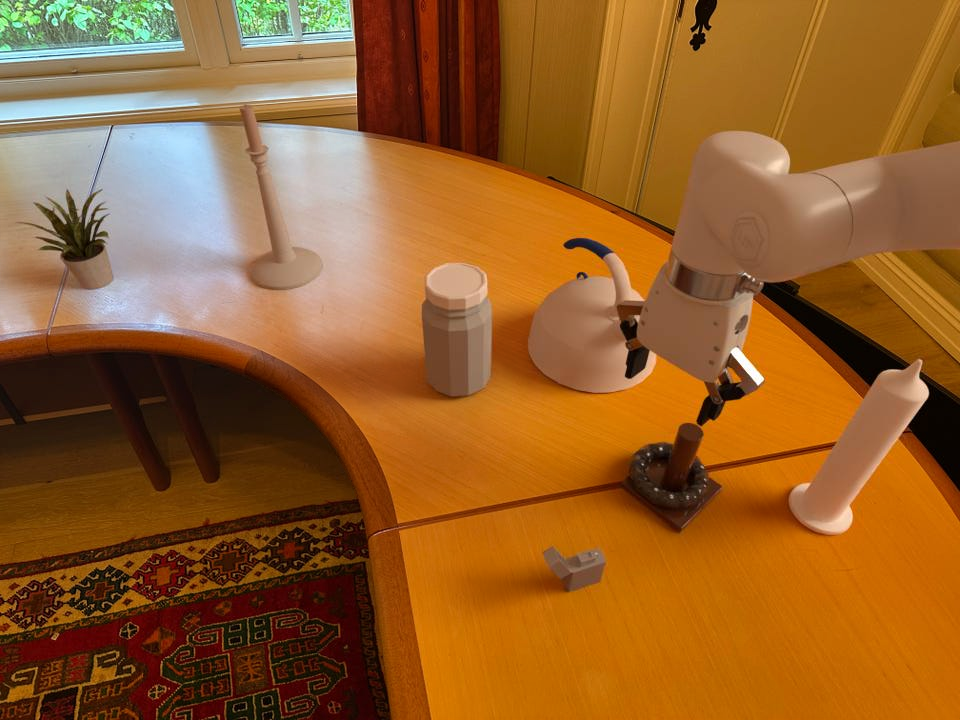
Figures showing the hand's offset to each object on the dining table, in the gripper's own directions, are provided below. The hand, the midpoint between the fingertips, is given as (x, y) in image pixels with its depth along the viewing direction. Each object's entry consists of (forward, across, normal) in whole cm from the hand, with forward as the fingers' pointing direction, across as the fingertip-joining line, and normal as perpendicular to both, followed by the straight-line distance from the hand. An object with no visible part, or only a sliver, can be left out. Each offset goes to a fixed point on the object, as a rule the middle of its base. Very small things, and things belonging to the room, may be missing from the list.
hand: (668, 395), depth 69 cm
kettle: (+14, +20, -13) cm, 28 cm away
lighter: (+14, -4, +19) cm, 24 cm away
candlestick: (+14, +72, +12) cm, 75 cm away
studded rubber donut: (+12, -3, 0) cm, 12 cm away
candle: (+14, -18, -11) cm, 25 cm away
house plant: (+14, +91, +38) cm, 100 cm away
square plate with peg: (+14, -4, 0) cm, 15 cm away
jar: (+14, +29, +7) cm, 33 cm away
